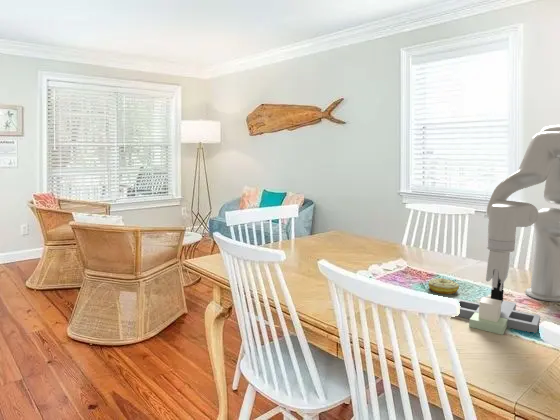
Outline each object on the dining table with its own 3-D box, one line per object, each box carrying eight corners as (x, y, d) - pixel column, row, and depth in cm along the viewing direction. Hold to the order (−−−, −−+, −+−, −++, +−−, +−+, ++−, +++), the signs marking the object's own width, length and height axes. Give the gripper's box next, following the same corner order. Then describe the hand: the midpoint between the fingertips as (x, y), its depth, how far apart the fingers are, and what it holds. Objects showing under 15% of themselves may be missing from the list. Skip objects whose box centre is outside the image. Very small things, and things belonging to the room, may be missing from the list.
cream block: (482, 312, 132) (483, 296, 131) (500, 316, 129) (501, 300, 128) (478, 318, 128) (479, 302, 127) (497, 322, 125) (498, 305, 124)
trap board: (462, 299, 150) (462, 292, 150) (542, 315, 136) (543, 308, 136) (443, 320, 132) (443, 312, 131) (533, 341, 118) (534, 333, 117)
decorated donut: (458, 288, 163) (458, 278, 162) (458, 297, 153) (459, 287, 152) (428, 284, 166) (429, 275, 166) (427, 293, 157) (428, 283, 156)
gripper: (492, 238, 140) (488, 292, 143) (482, 248, 128) (478, 306, 131) (518, 241, 135) (513, 297, 138) (510, 251, 124) (505, 312, 126)
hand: (496, 301), depth 135 cm, fingers closed
